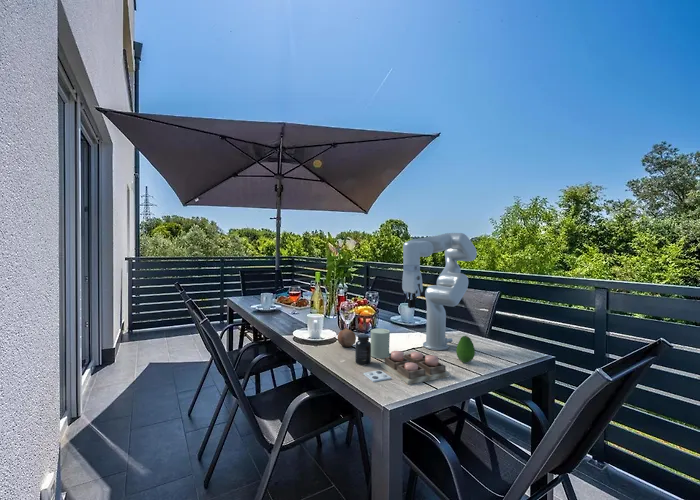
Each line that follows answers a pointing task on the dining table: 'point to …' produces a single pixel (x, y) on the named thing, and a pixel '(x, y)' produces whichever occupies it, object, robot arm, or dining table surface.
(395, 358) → the button
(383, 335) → the can
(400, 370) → the board
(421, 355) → the button
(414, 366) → the button
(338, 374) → the dining table surface
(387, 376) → the tile
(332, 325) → the dining table surface
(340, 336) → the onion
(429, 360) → the button
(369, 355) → the supplement bottle
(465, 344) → the avocado
